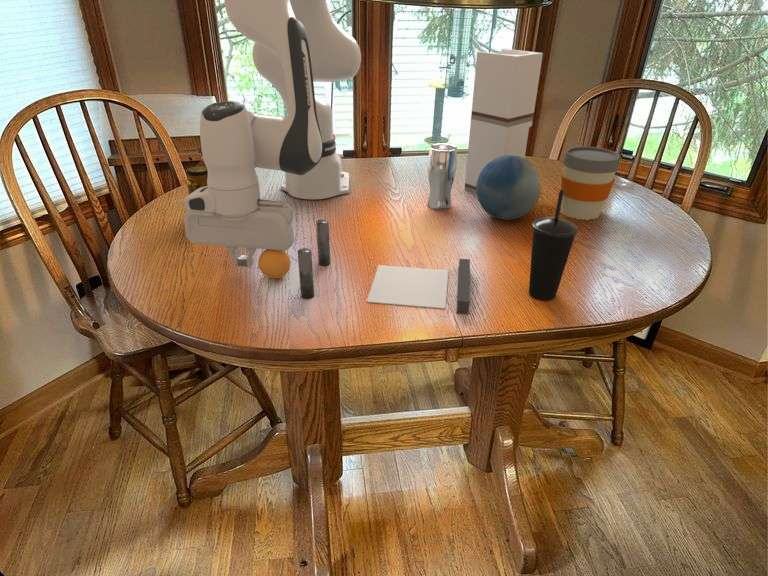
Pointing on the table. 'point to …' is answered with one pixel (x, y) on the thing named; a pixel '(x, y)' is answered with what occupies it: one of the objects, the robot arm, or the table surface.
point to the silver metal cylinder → (441, 175)
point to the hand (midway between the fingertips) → (244, 265)
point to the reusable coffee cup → (587, 180)
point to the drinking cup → (550, 253)
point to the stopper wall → (463, 286)
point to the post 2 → (323, 242)
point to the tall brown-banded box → (501, 108)
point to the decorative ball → (508, 187)
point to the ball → (274, 263)
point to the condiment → (197, 178)
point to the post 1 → (306, 273)
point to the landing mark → (409, 287)
